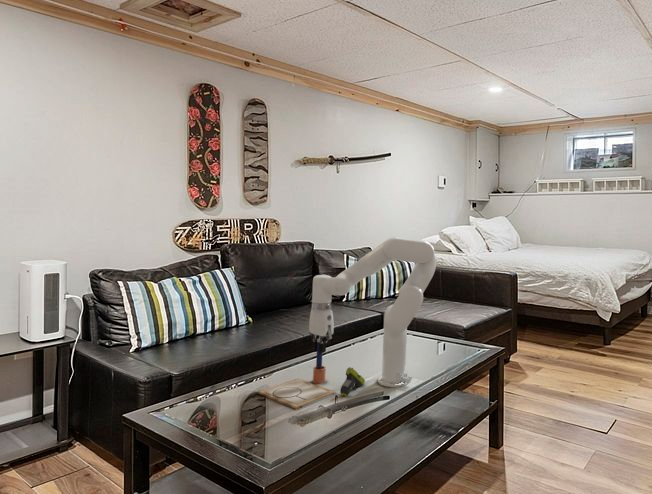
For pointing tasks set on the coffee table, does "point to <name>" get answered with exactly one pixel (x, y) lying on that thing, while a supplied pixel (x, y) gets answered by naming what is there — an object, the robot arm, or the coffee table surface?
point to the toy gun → (351, 381)
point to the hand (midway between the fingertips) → (319, 351)
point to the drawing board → (296, 393)
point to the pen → (318, 356)
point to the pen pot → (319, 374)
